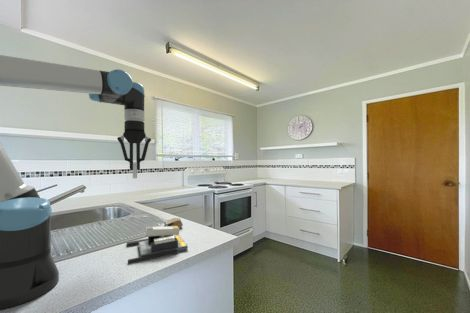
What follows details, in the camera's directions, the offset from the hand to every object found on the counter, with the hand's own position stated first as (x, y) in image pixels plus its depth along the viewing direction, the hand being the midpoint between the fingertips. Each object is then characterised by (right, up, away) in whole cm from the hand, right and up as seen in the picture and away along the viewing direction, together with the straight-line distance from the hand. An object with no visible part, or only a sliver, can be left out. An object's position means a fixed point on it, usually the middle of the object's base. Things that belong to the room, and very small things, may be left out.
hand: (134, 178), depth 89 cm
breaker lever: (+14, -20, -7) cm, 25 cm away
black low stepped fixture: (+10, -26, -7) cm, 29 cm away
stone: (+10, -27, +19) cm, 34 cm away
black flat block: (+14, -26, -7) cm, 30 cm away
